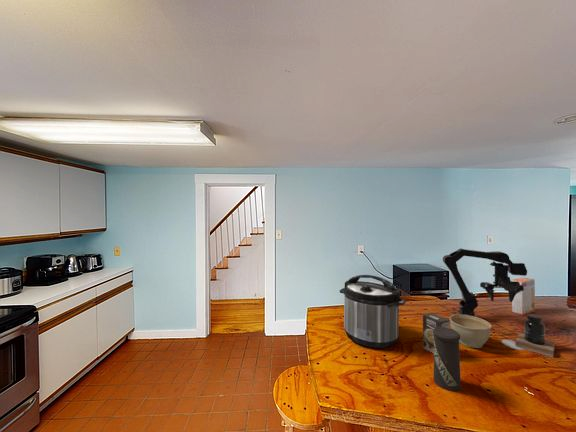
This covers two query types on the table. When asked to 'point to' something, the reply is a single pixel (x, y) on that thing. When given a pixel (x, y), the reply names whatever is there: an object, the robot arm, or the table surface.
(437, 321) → the coffee box
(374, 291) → the pressure cooker
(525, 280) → the cracker box
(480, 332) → the planter bowl
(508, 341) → the grey coaster
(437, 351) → the container
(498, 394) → the table surface
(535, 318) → the supplement bottle
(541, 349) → the light brown block
